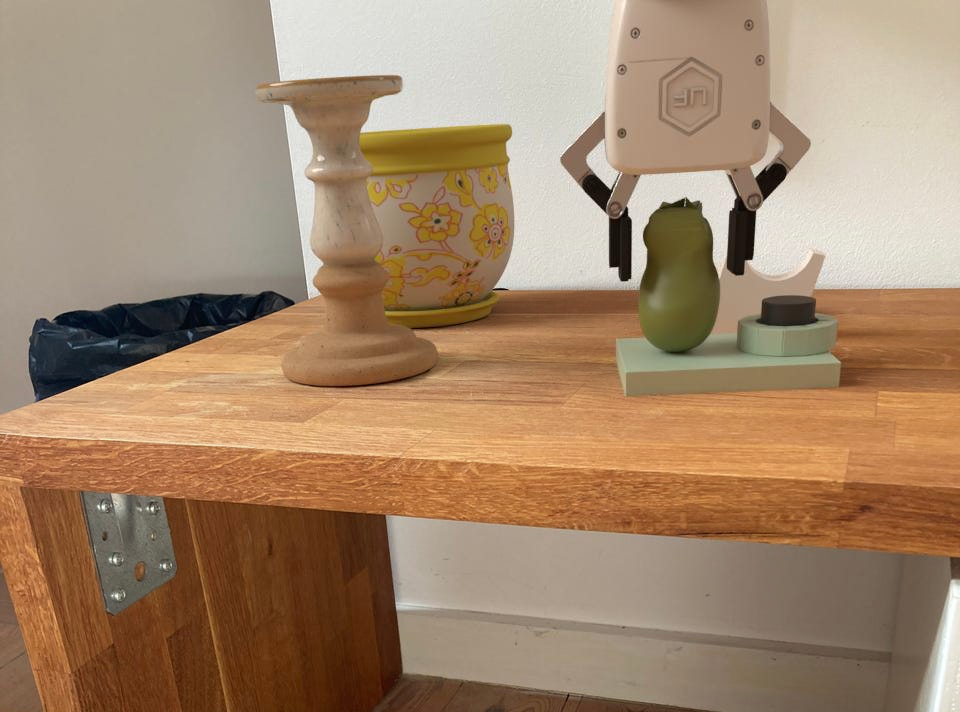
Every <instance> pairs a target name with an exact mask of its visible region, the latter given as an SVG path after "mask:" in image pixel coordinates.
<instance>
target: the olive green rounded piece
mask: <svg viewBox="0 0 960 712" xmlns="http://www.w3.org/2000/svg"><path fill="white" fill-rule="evenodd" d="M642 241H643V245H644V246H645V248H646V264H645V269H644V271H643V274H642V276H641V279H640V284H639V289H638V299H637V300H638V301H637V315H638V322H639V326H640V329H641V332H642V334H643V336H644V337H645V338H646V339H647V340H648V341H649V342H650V343H651V344H652V345H653V346H655V347H656V348H658V349H661V350H664V351H668V352H683V351H688V350H691V349H693V348H695V347H697V346H699V345H700V344H702V343H703V342H704V341H705V340H706V339H707V338H708V336H709V335H710V333H711V331H712V329H713V327H714V325H715V322H716V318H717V314H718V309H719V303H720V280H719V276H718V272H717V269H716V264H715V262H714V234H713V230H712V227H711V225H710V222H709V220H708V218H706V217H704V214H703V201H701V200H698V199H697V200H695V201H691V200H690V199H689V198H688V197H687V196H685V197H683V198H682V197H681V198H680V199H678V200H676V201H673V202H668V201H662V202H661V203H660V205H659V207H658V208H656V209H655V210H654V211H653V212H652V213H650V216H649V217H648V222H647V223H646V225H645V226H644V228H643V231H642Z"/></svg>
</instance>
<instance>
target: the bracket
mask: <svg viewBox="0 0 960 712" xmlns="http://www.w3.org/2000/svg"><path fill="white" fill-rule="evenodd" d="M825 258H826V254H825V253H824V252H823V250H818V249H815V248H809V250H808V253H807V255H806V256H805V258H804V259H803V261H802V262H801V263H800V264H798V266H797V267H795V268H794V269H792V270H790V271H789V272H786V273H783V274H777V275H770V274H764V273H762V272H761V271H758V270H757V269H756V268H755V267H753V266H752V265H751V264H750V262H749V260H746V261H745V269H744V275H740V276H735V275H734V274H732V273H731V272H730V271H729V270H728V269H727V250H725V254H724V257H723V259H722V260H723V261H722V263H721V264H720V263H715V267H716V269H717V272H718V276H719V280H720V303H719V309H718V314H717V318H716V322H715V325H714V327H713V329H712V331H711V333H710V334H728V333H737V327H738V320H740V319H742V318H744V317H746V316H749V315H755V314H761V306H762V300H763V299H765V298H768V297H773V296H784V295H799V296H809V297H812V295H813V293H814V290H815V288H816V284H817V283H818V279H819V275H820V273H821V270H822V267H823V264H824V261H825Z"/></svg>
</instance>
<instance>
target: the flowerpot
mask: <svg viewBox="0 0 960 712" xmlns="http://www.w3.org/2000/svg"><path fill="white" fill-rule="evenodd" d="M512 137H513V127H512V125H510V124H508V123H496V124H495V123H494V124H492V123H491V124H473V125H456V126H439V127H437V126H436V127H425V128H424V127H423V128H421V127H419V128H407V129H393V130H392V129H391V130H378V131H376V130H375V131H363V132H360V138H359V144H360V149H361V152H362V155H363V156H364V158H365V159H366V160H367V161H369V162H370V163H371V164H372V166H373V172H372V174H371V175H370V176H369V177H367V179H366V185H367V190H368V194H369V198H370V201H371V205H372V208H373V211H374V214H375V217H376V219H377V222H378V224H379V226H380V229H381V232H382V235H383V246H382V249H381V250H380V252H379V253H378V254H377V256H376V257H375V261H377V262H378V263H380V264H381V265H382V267H383V269H385V270H386V271H387V272H388V273H389V277H390V278H389V281H388V282H387V283H386V286H385V288H384V289H383V290H382V292H381V294H382V300H383V305H384V309H385V314H386V318H387V322H388V324H391V325H400V326H404V327H407V328H410V329H421V328H423V329H425V328H437V327H445V326H446V327H447V326H454V325H459V324H464V323H469V322H474V321H477V320H481V319H483V318H485V317H487V316H489V314H490V313H491V312H492V309H493V306H494V305H495V304H496V303H497V302H499V301H500V297H501V296H500V295H499V294H498V293H497V292H495V291H493V289H494V288H495V287H496V286H497V284H498V283H499V282H500V280H501V278H502V277H503V274H504V272H505V270H506V269H507V266H508V264H509V262H510V257H511V254H512V251H513V246H514V239H515V208H514V197H513V190H512V185H511V180H510V174H509V164H510V161H511V159H510V156H509V155H508V152H507V142H508V141H509V140H511V138H512Z"/></svg>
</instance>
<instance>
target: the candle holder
mask: <svg viewBox="0 0 960 712" xmlns="http://www.w3.org/2000/svg"><path fill="white" fill-rule="evenodd" d="M403 89H404V80H403V77H402V76H401V75H398V74H376V75H375V74H374V75H373V74H371V75H355V76H354V75H353V76H334V77H333V76H332V77H320V78H306V79H304V78H303V79H293V80H282V81H281V80H280V81H271V82H263V83H258V84H256V85H255V87H254V94H255V97H256V99H257V101H258V102H260V103H263V104H276V105H278V104H279V105H283V106H289V108H291V110H292V112H293V115H294V117H295V119H296V122H297V123H298V125H299V126H300V127H301V128H303V129H304V130H305V131H306V132H307V134H308V136H309V139H310V142H311V147H312V157H311V160H310V162H309V164H308V165H306V167H305V168H304V170H303V172H304V176H305V178H306V179H307V180H309V181H311V182H313V185H314V208H313V209H314V210H313V211H314V212H313V219H312V225H311V231H310V238H309V244H310V250H311V251H312V253H313V254H314V255H315V256H316V257H317V258H318V259H319V261H321V262H322V264H323V265H321V266H320V267H319V268H318V269H317V273H316V274H315V275H314V276H313V278H312V286H313V287H314V288H315V289H316V290H318V293H320V295H322V297H324V329H321V330H318V331H315V332H312V333H309V334H307V335H306V336H304V337H303V338H302V339H300V343H299V345H298V347H295V348H293V349H291V350H289V351H288V352H286V353H285V354H284V356H283V357H282V360H281V371H282V372H283V373H282V374H283V375H284V377H285V378H286V379H288V380H289V381H292V382H293V383H294V382H295V383H298V384H304V385H309V386H319V387H320V386H321V387H347V386H348V387H350V386H363V385H373V384H380V383H386V382H394V381H399V380H403V379H406V378H407V379H408V378H410V377H415V376H418V375H420V374H423V373H425V372H427V371H429V370H430V369H432V368H434V366H436V364H437V362H438V357H439V355H438V348H437V346H436V345H435V344H434V342H432V341H431V340H429V339H427V338H423V337H420V336H419V337H418V336H417V335H416V334H415V332H414V330H413V329H412V328H407V327H404V326H400V325H391V324H388V322H387V318H386V314H385V309H384V305H383V300H382V294H381V292H382V290H383V289H384V288H385V286H386V283H387V282H388V281H389V278H390V277H389V273H388V272H387V271H386V270H385V269H383V267H382V265H381V264H380V263H378V262H377V261H375V257H376V256H377V254H378V253H379V252H380V250H381V249H382V246H383V235H382V232H381V229H380V226H379V224H378V222H377V219H376V217H375V214H374V211H373V208H372V205H371V201H370V198H369V194H368V190H367V185H366V179H367V177H369V176H370V175H371V174H372V172H373V166H372V164H371V163H370V162H369V161H367V160H366V159H365V158H364V156H363V155H362V152H361V149H360V144H359V138H360V133H362V132H361V131H362V128H363V126H364V125H365V124H366V123H367V121H368V120H369V118H370V117H369V116H370V112H371V106H372V103H373V101H375V100H378V99H381V98H384V97H389V96H395V95H398V94H401V92H403Z"/></svg>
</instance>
